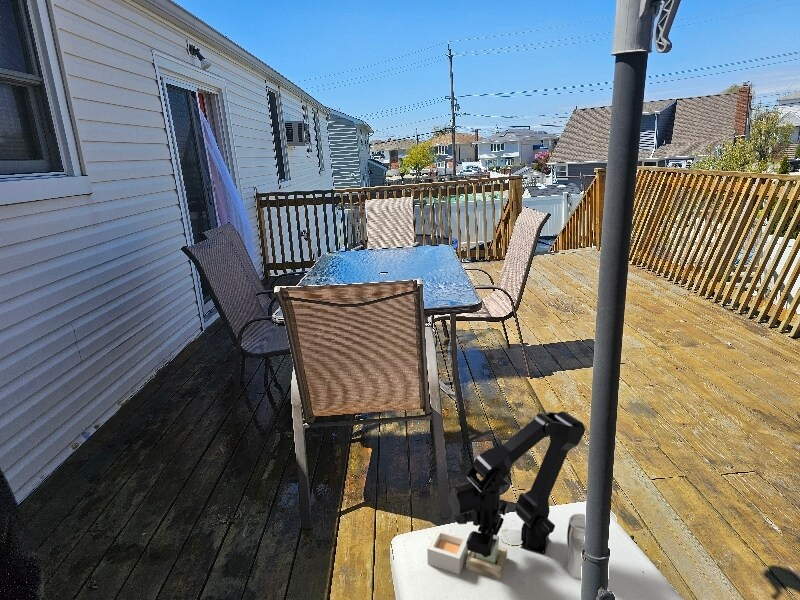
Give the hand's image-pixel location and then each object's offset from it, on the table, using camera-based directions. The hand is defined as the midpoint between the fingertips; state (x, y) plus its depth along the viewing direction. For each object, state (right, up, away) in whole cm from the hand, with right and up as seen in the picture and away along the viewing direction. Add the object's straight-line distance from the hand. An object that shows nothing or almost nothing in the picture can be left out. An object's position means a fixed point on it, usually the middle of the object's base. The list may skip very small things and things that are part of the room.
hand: (487, 550), depth 134 cm
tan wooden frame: (0, -4, +1) cm, 4 cm away
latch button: (-10, -2, +2) cm, 10 cm away
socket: (-10, -4, +3) cm, 11 cm away
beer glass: (+23, -4, -2) cm, 24 cm away
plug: (0, -4, +1) cm, 4 cm away
